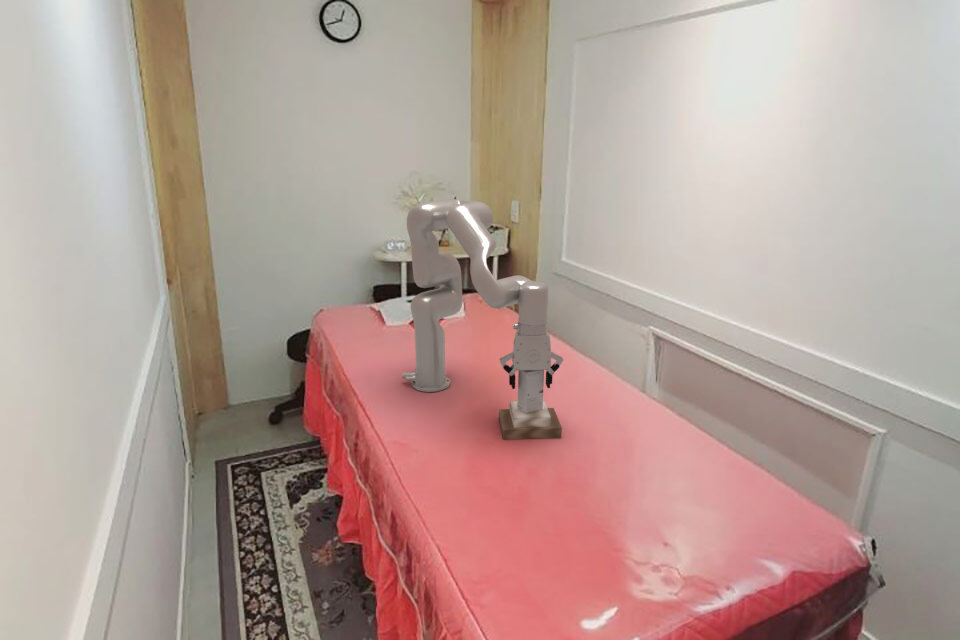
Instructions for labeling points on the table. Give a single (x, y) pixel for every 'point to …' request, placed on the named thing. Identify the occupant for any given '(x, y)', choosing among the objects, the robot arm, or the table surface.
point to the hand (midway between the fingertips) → (530, 386)
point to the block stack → (529, 423)
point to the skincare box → (530, 390)
